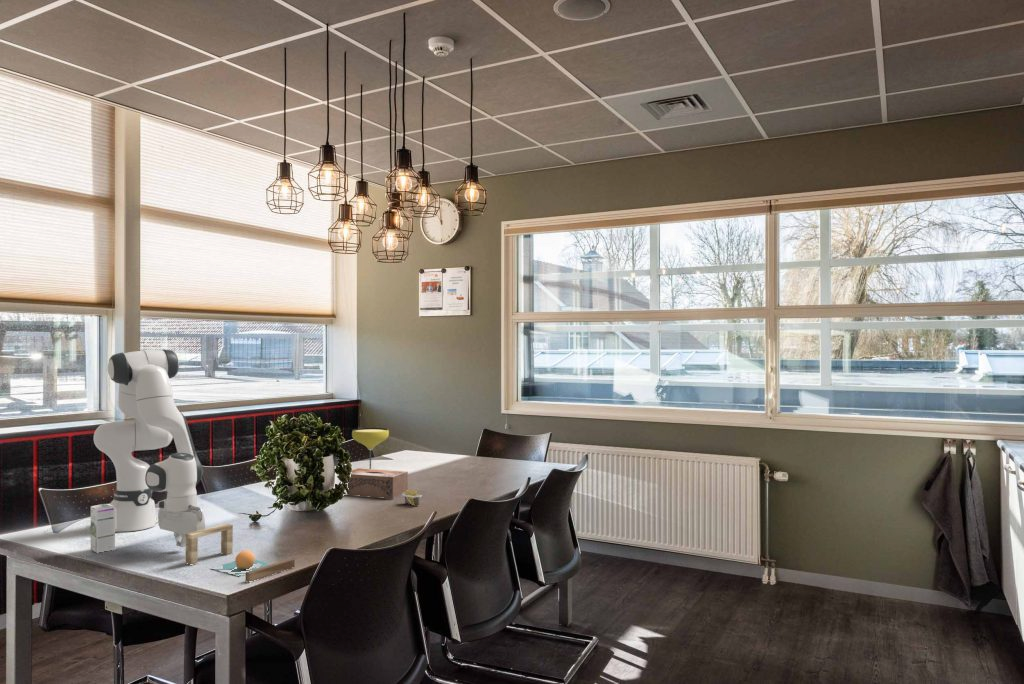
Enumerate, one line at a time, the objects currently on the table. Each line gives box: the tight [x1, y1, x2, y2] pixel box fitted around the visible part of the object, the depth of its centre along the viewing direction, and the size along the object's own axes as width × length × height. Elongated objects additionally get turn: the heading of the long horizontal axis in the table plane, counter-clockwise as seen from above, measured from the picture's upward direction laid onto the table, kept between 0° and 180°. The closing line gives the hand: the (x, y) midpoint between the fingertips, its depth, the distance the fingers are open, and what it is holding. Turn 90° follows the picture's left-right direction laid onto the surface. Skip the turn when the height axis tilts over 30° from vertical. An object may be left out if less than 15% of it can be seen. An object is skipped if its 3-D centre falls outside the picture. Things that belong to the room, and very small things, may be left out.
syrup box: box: [90, 503, 116, 554], centre depth 230 cm, size 6×6×14 cm
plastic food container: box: [401, 489, 423, 506], centre depth 298 cm, size 12×18×7 cm, turn 54°
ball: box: [234, 550, 256, 570], centre depth 211 cm, size 6×6×6 cm
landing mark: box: [213, 559, 272, 577], centre depth 213 cm, size 13×13×1 cm
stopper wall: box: [245, 557, 295, 582], centre depth 207 cm, size 2×16×2 cm, turn 149°
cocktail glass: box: [351, 427, 390, 469], centre depth 353 cm, size 18×18×25 cm
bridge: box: [185, 523, 234, 565], centre depth 222 cm, size 3×14×9 cm, turn 149°
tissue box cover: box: [348, 468, 409, 498], centre depth 320 cm, size 26×14×10 cm, turn 72°
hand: (181, 546), depth 229 cm, fingers closed
